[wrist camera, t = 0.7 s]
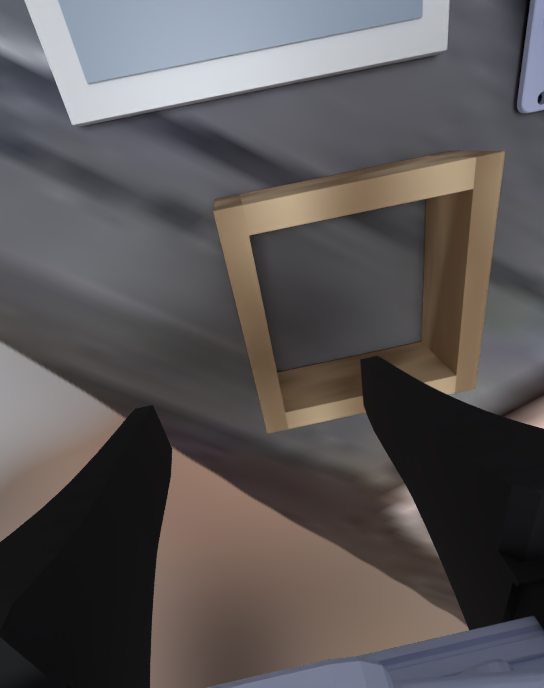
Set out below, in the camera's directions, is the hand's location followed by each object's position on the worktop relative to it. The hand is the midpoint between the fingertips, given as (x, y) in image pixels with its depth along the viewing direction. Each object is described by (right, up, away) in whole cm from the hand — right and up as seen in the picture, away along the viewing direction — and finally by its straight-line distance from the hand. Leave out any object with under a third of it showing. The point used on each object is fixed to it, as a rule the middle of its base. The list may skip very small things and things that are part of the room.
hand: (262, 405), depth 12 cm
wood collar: (+4, +5, +8) cm, 11 cm away
